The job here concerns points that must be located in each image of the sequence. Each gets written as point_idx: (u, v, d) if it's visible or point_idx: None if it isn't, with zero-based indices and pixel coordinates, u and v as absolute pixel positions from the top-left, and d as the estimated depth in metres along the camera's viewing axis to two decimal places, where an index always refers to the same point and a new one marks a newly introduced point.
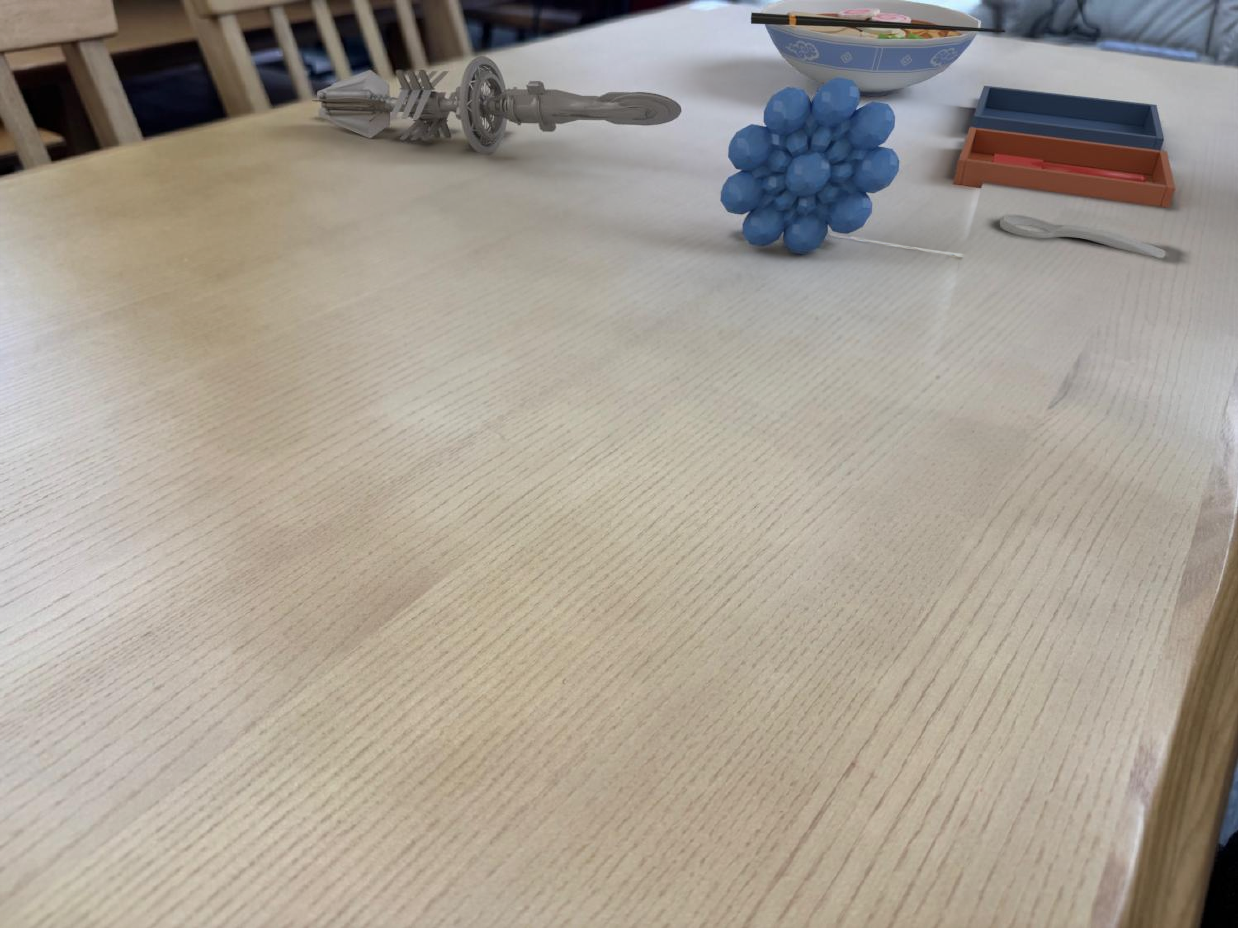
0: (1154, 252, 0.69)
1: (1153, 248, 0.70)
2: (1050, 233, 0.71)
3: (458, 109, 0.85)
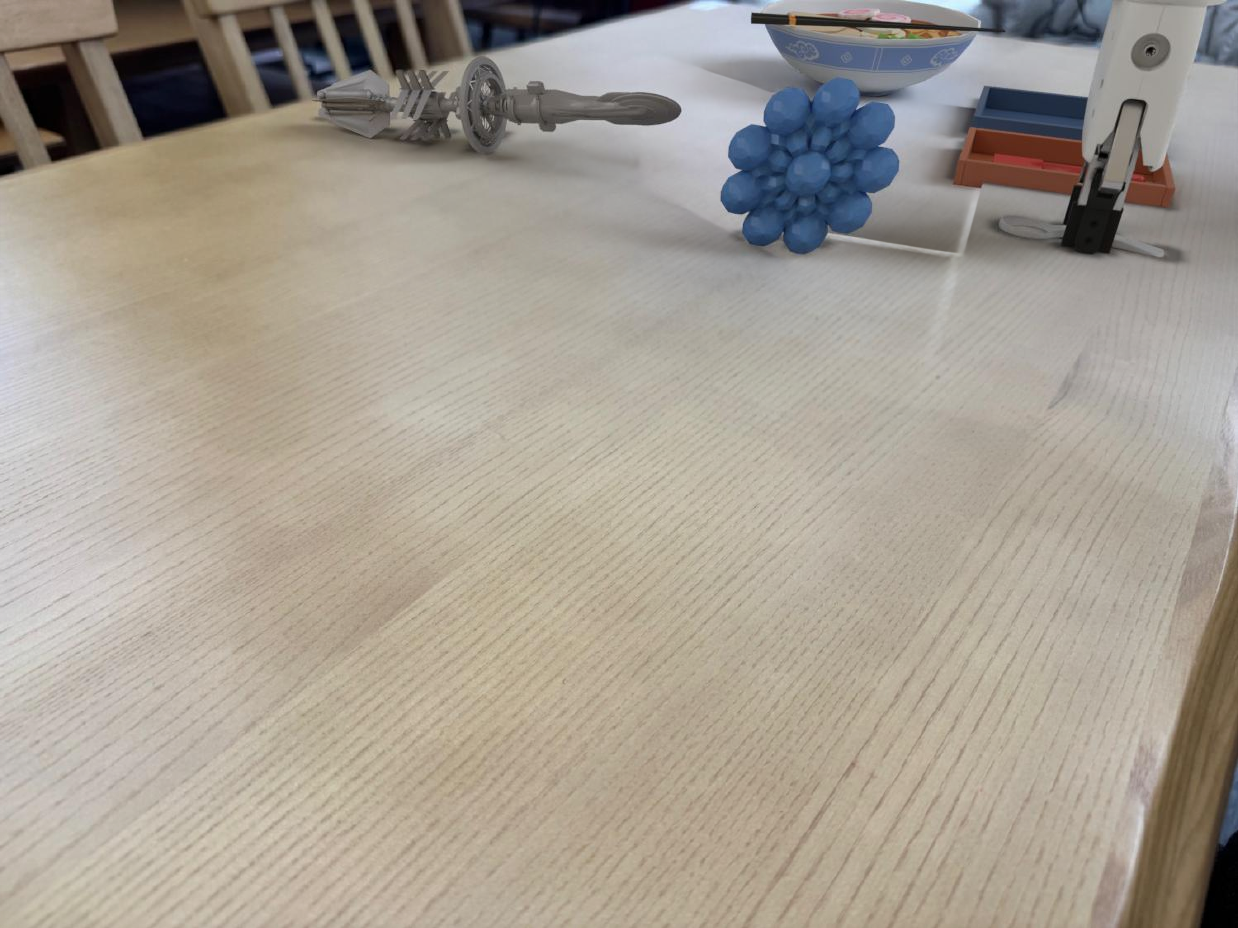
0: (1154, 252, 0.69)
1: (1153, 248, 0.70)
2: (1050, 234, 0.71)
3: (458, 109, 0.85)
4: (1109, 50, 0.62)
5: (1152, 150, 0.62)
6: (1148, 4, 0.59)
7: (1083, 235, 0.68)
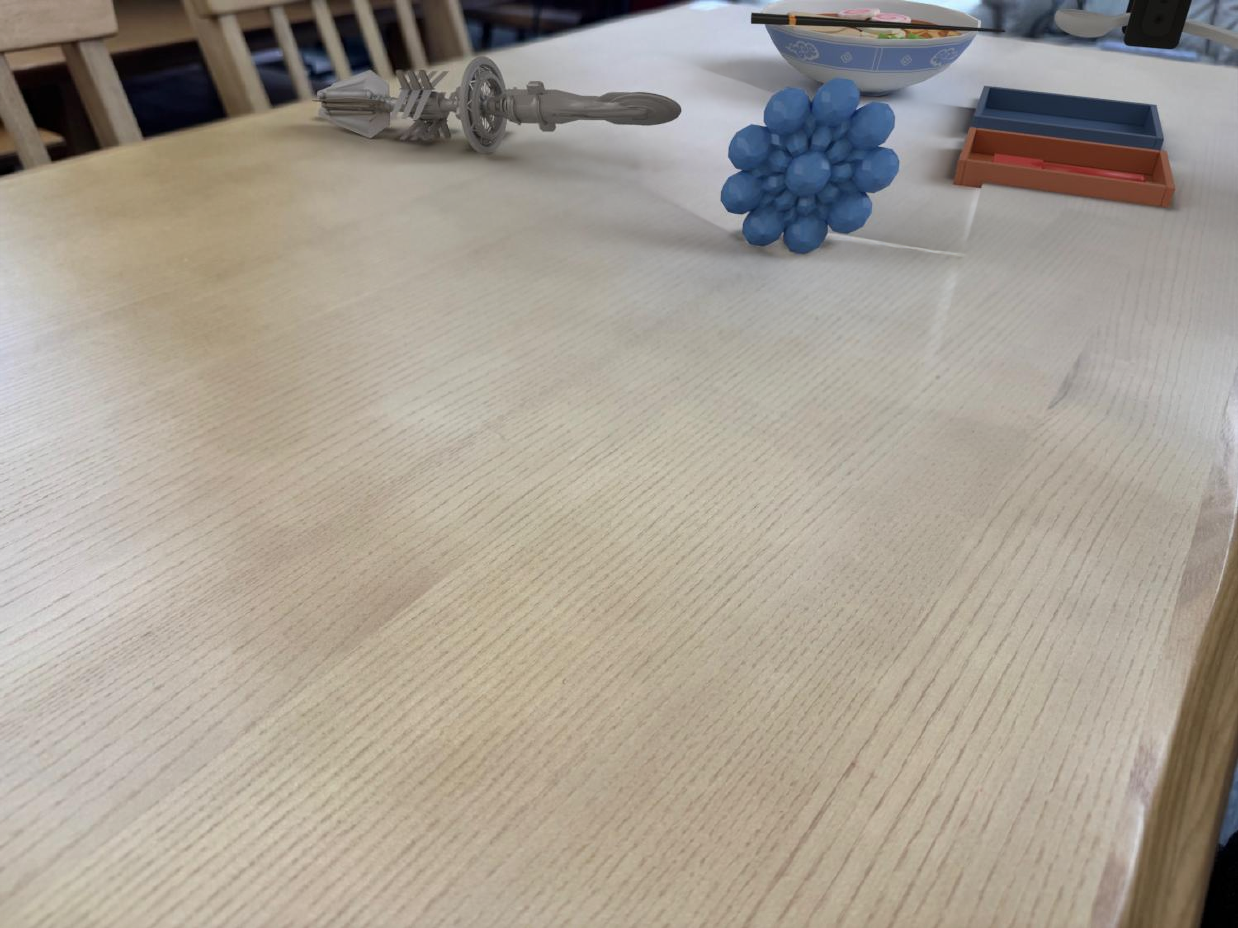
0: (1230, 33, 0.63)
1: (1228, 31, 0.63)
2: (1112, 22, 0.65)
3: (458, 109, 0.85)
4: None
5: None
6: None
7: (1153, 13, 0.62)
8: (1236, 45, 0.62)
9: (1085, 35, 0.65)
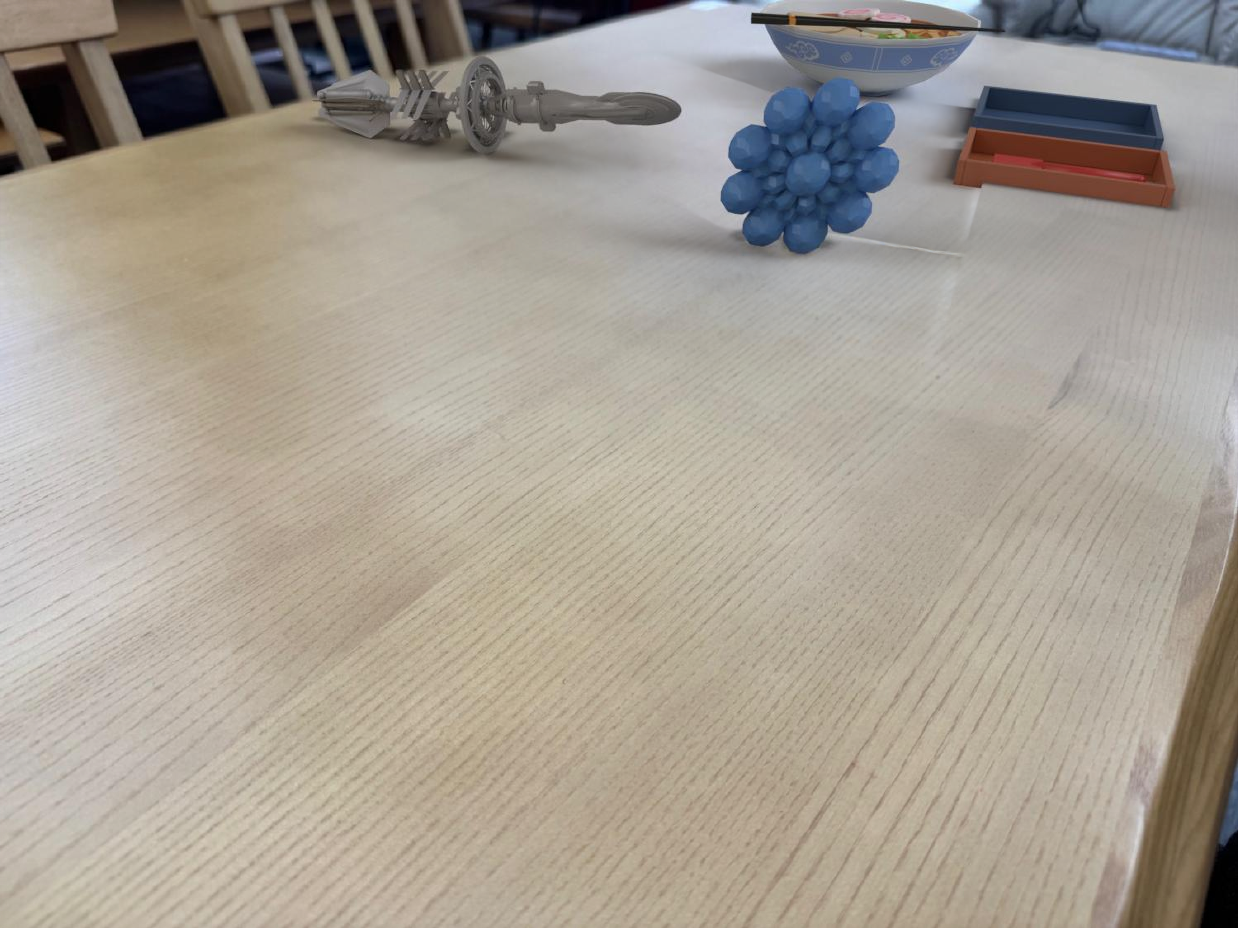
0: None
1: None
2: None
3: (458, 109, 0.85)
4: None
5: None
6: None
7: None
8: None
9: None
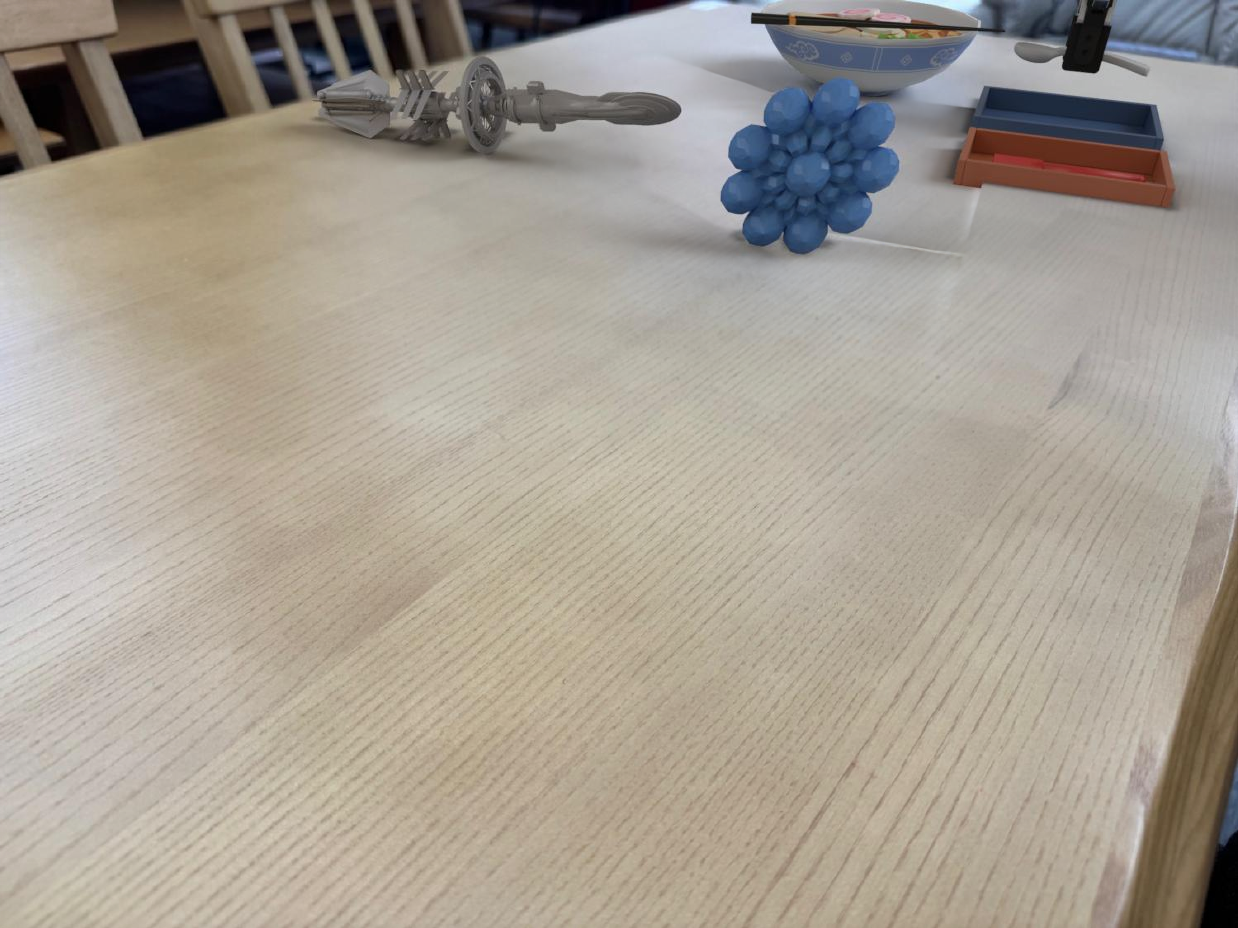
0: (1134, 63, 0.89)
1: (1134, 61, 0.90)
2: (1054, 52, 0.91)
3: (458, 109, 0.85)
4: None
5: None
6: None
7: (1081, 48, 0.89)
8: (1138, 71, 0.89)
9: (1035, 61, 0.92)
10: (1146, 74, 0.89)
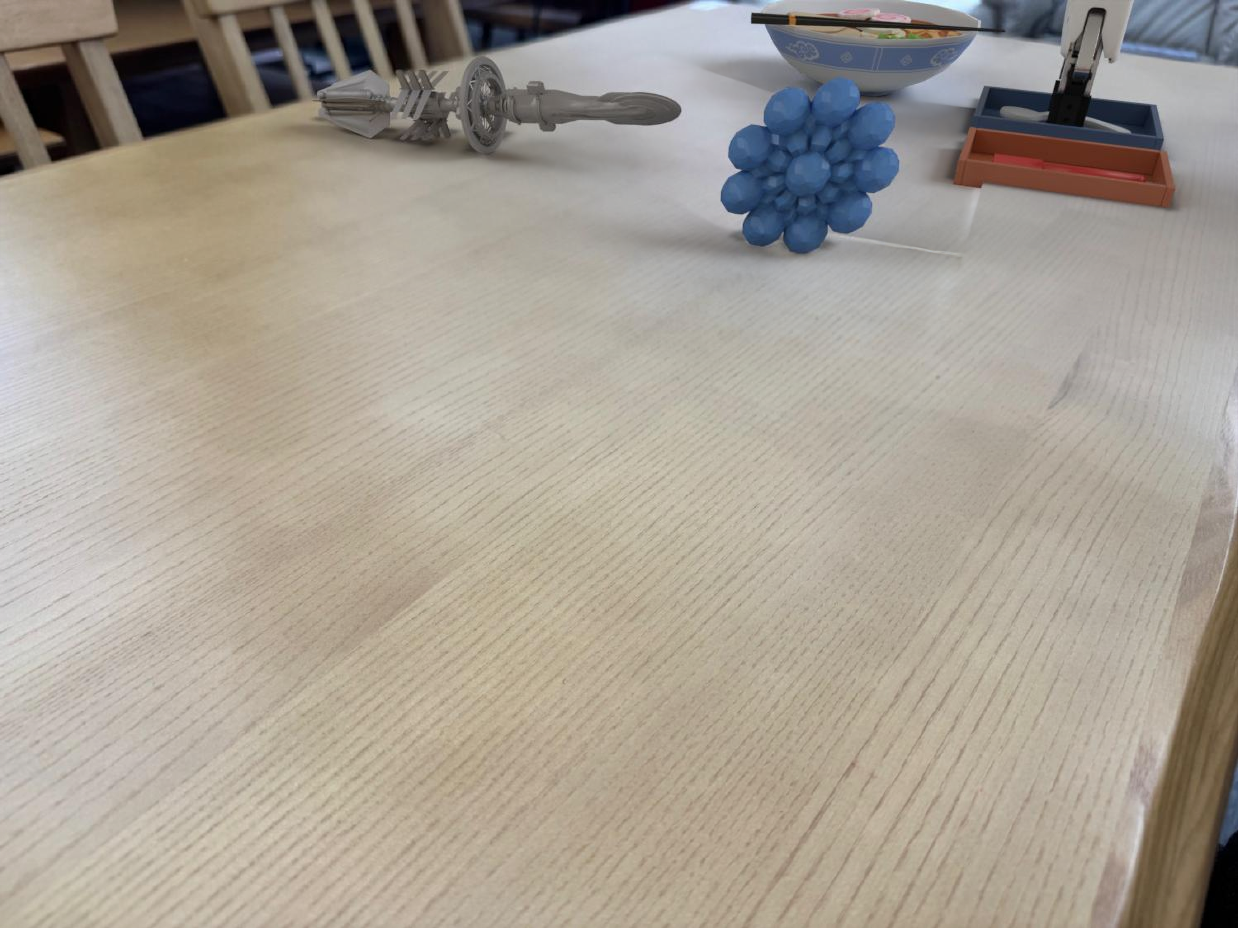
0: (1115, 128, 0.93)
1: (1115, 126, 0.93)
2: (1038, 117, 0.94)
3: (458, 109, 0.85)
4: None
5: (1110, 46, 0.86)
6: None
7: (1062, 117, 0.92)
8: None
9: None
10: None
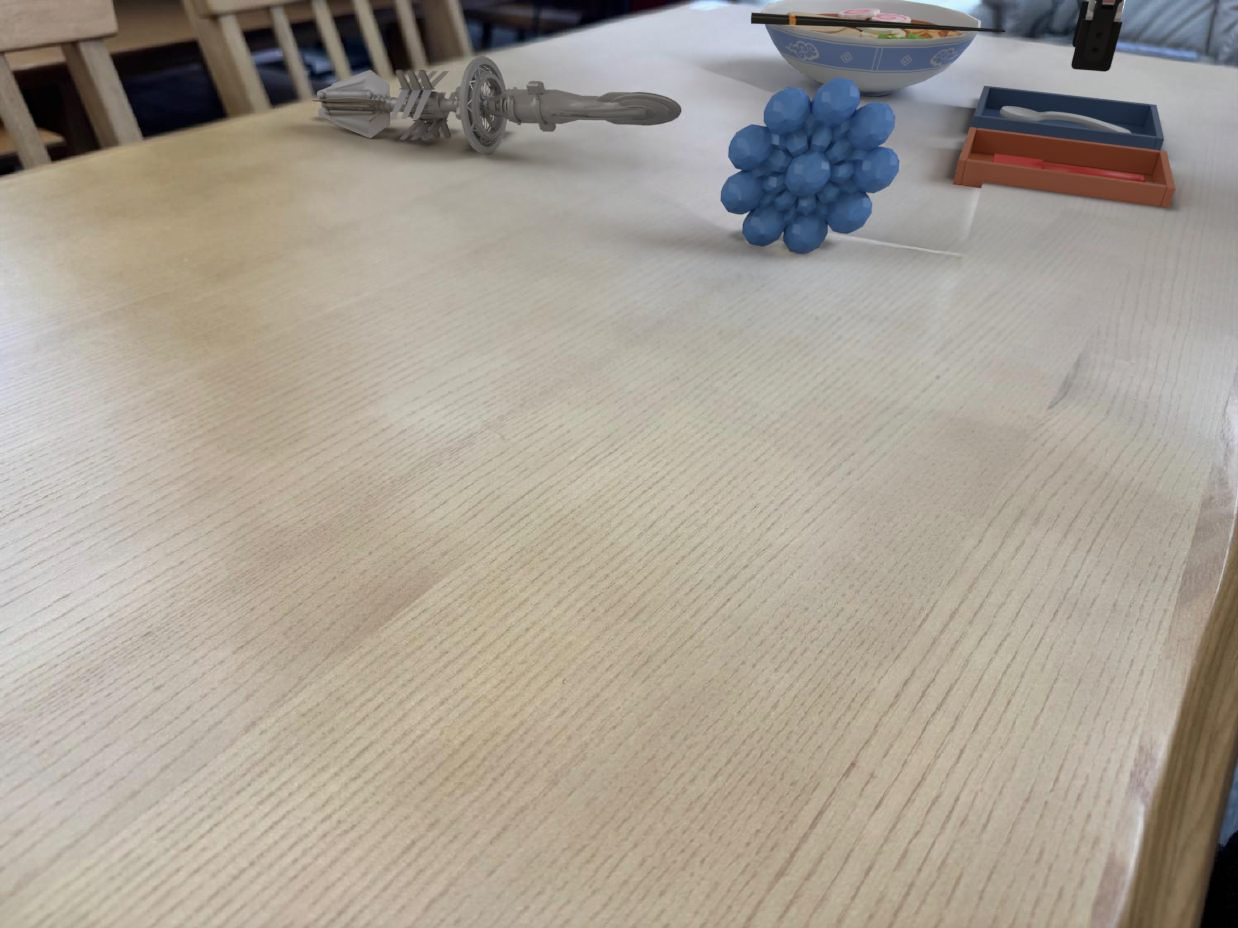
0: (1115, 128, 0.93)
1: (1115, 126, 0.93)
2: (1038, 117, 0.94)
3: (458, 109, 0.85)
4: None
5: None
6: None
7: (1091, 46, 0.85)
8: None
9: None
10: None
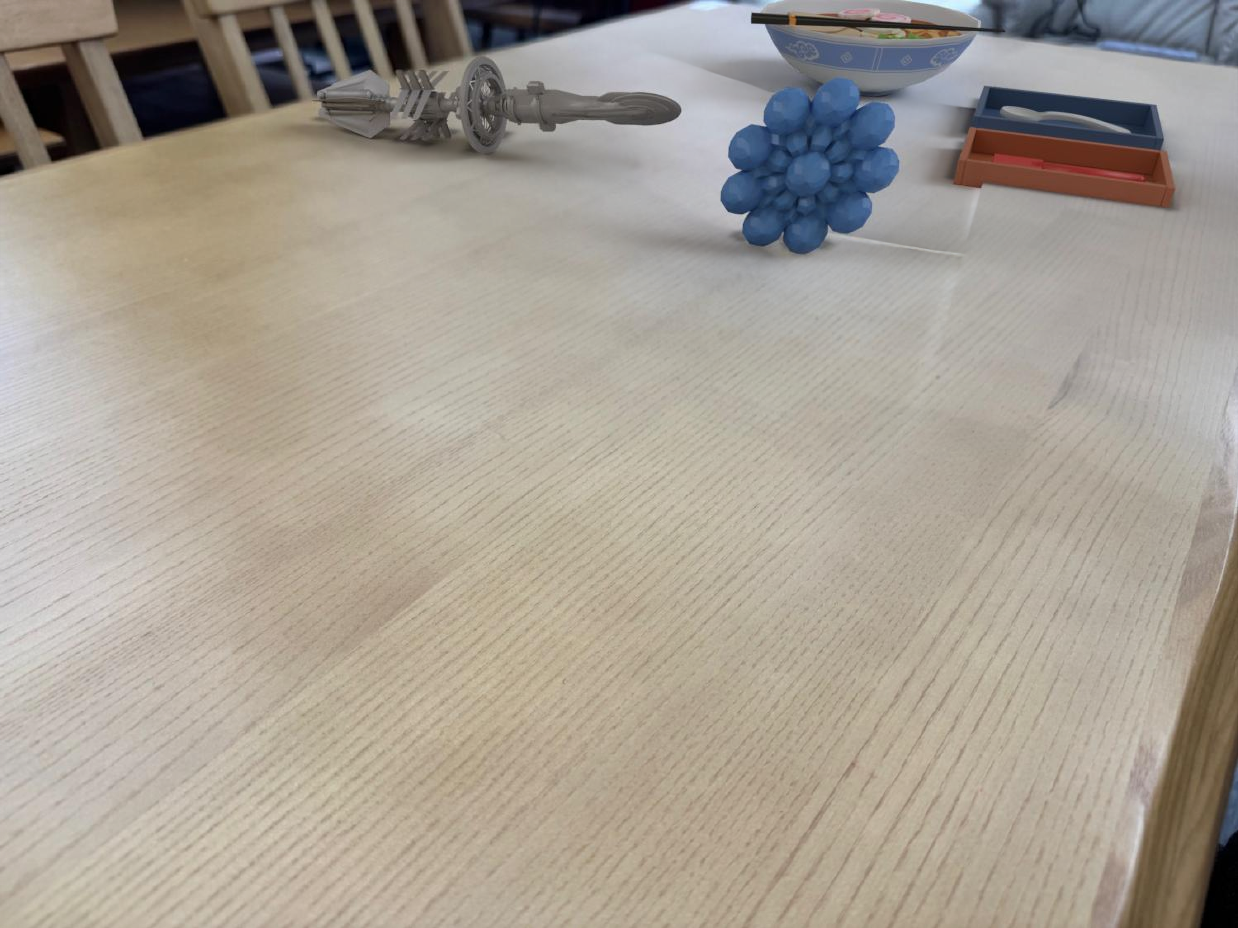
0: (1115, 128, 0.93)
1: (1115, 126, 0.93)
2: (1038, 117, 0.94)
3: (458, 109, 0.85)
4: None
5: None
6: None
7: None
8: None
9: None
10: None
